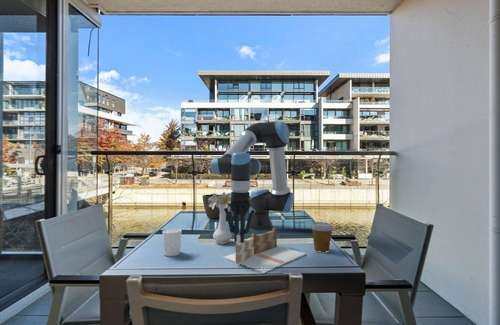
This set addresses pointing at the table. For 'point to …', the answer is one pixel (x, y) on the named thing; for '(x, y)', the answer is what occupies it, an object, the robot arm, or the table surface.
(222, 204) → the flower vase
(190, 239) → the table surface
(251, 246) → the hinged fence panel
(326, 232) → the disposable coffee cup
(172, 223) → the table surface
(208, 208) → the plant pot
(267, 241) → the fixed fence section
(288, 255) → the board
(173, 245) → the white cup
